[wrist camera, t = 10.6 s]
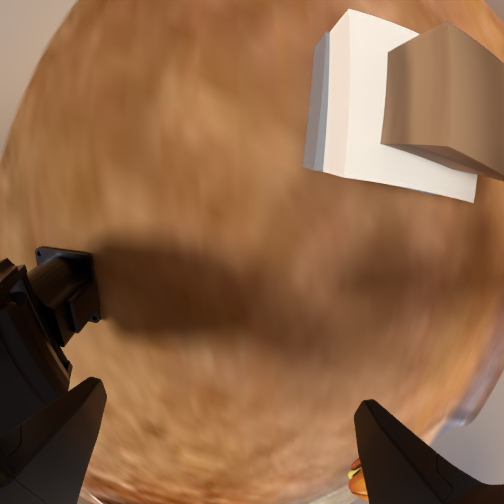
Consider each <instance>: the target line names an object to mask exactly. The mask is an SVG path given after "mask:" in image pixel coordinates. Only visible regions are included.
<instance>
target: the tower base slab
mask: <svg viewBox="0 0 504 504" xmlns="http://www.w3.org/2000/svg"><path fill="white" fill-rule="evenodd" d="M329 55H330V33H329V32H326V33H325V34H324V36H323V37H322V38H321V40H320V41H319V42H318V44H317V45H316V47H315V48H314V59H313V71H312V83H311V94H310V104H309V114H308V123H307V132H306V141H305V150H304V158H303V166H302V167H303V168H307V169H310V170H315V171H321V172H323V165H324V154H325V141H326V127H327V111H328V91H329ZM393 186H395V185H393ZM398 187H400V186H398ZM402 188H405V187H402ZM406 189H410V190H414V191H418V192H422V193H426V194H430V195H433V196H435V194H434V193H430V192H425V191H420V190H416V189H411V188H406Z"/></svg>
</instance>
